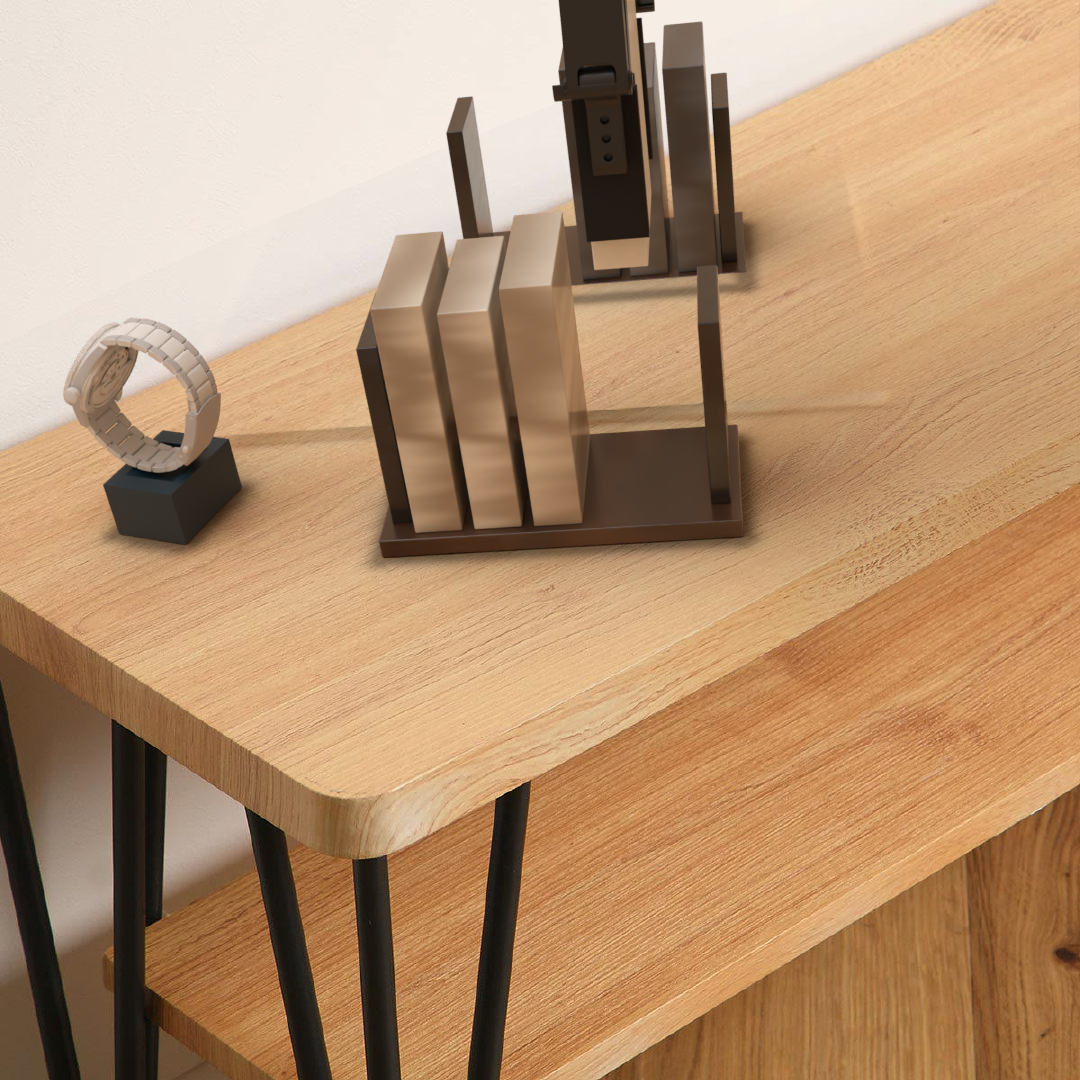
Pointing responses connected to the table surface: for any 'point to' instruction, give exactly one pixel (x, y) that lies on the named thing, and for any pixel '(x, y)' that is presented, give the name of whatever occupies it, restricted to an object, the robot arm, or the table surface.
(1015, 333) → the table surface
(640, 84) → the beige book
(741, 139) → the table surface
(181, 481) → the watch
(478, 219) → the grey rack
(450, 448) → the brown rack
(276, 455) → the table surface
